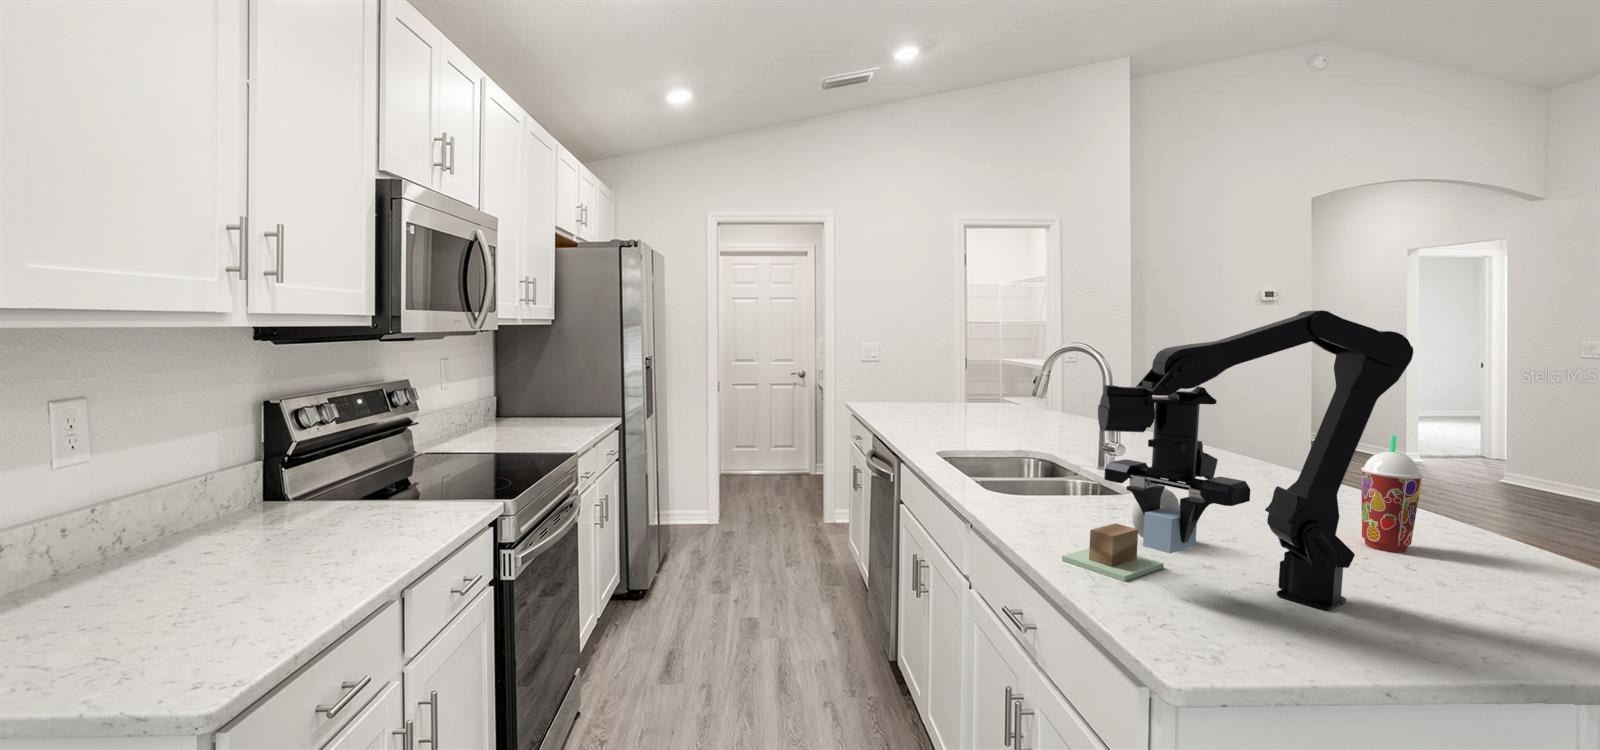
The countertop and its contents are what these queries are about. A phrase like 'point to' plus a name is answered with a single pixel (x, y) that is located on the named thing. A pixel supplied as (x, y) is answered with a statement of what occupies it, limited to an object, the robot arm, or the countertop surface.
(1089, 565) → the baseplate
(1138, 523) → the donut
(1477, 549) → the countertop surface
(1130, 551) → the walnut brick
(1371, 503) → the smoothie
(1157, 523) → the slate brick
